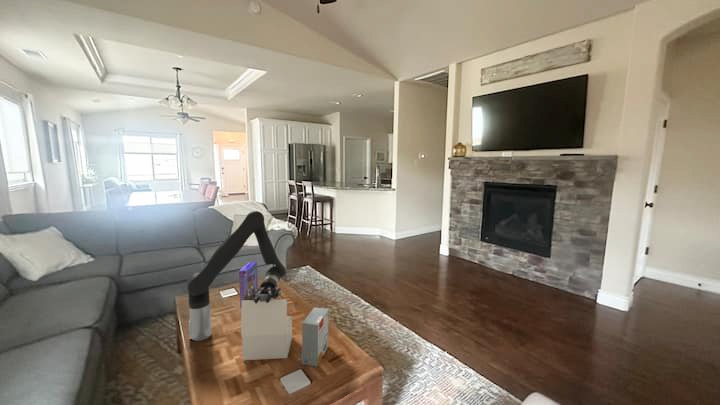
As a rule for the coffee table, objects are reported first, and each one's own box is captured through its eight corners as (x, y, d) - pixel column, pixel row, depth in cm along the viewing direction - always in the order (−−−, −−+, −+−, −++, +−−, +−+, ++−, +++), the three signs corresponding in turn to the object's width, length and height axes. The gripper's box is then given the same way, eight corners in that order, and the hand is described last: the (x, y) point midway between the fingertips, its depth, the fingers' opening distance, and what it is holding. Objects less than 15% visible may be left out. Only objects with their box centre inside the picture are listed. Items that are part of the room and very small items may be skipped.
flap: (241, 336, 130) (239, 339, 126) (241, 293, 130) (239, 295, 127) (286, 333, 132) (285, 337, 128) (286, 292, 132) (285, 294, 129)
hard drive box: (317, 367, 128) (317, 325, 125) (301, 365, 129) (301, 323, 126) (328, 346, 143) (328, 308, 140) (313, 344, 144) (313, 306, 142)
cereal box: (248, 307, 180) (246, 270, 177) (240, 307, 180) (238, 270, 177) (258, 295, 197) (257, 261, 194) (251, 294, 197) (249, 261, 194)
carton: (242, 360, 132) (241, 335, 130) (252, 339, 147) (251, 317, 146) (287, 357, 134) (286, 333, 132) (292, 337, 149) (291, 315, 148)
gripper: (254, 278, 141) (244, 293, 124) (284, 277, 142) (278, 292, 125) (255, 292, 142) (244, 310, 125) (284, 291, 143) (278, 308, 126)
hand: (261, 301), depth 125 cm, fingers closed on flap, 4 cm apart
